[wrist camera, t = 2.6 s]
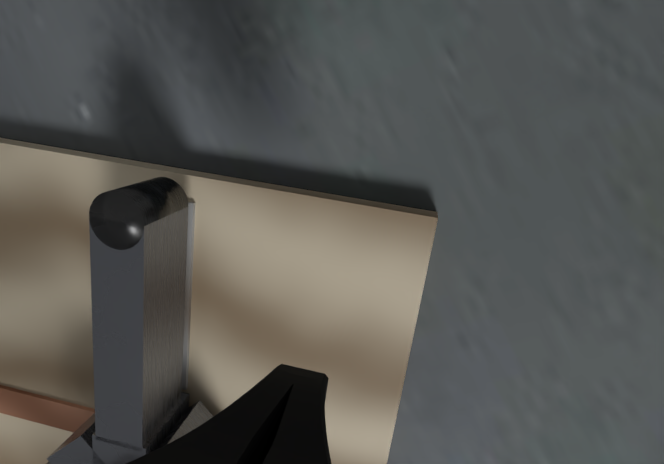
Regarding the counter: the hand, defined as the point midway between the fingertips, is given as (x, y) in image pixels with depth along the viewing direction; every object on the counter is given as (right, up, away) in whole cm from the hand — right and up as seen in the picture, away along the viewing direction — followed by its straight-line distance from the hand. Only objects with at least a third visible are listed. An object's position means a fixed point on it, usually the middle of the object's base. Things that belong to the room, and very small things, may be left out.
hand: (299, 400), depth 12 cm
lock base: (-8, -4, +11) cm, 14 cm away
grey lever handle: (-7, -1, +8) cm, 11 cm away
